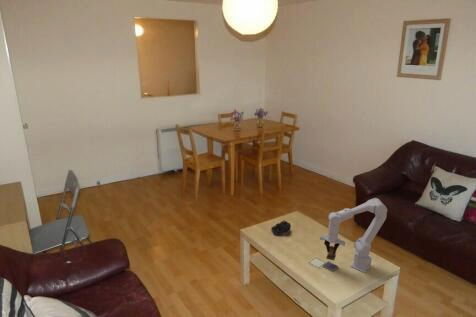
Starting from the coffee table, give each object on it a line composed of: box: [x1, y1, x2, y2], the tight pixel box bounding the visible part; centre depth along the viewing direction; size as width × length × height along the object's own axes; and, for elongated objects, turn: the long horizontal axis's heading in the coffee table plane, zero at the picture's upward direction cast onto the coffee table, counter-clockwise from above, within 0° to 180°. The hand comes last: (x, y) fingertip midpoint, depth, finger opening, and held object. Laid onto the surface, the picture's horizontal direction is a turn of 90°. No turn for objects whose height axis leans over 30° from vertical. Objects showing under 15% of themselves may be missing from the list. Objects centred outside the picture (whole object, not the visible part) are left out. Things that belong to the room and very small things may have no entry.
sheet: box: [306, 256, 328, 270], centre depth 210 cm, size 9×9×1 cm
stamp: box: [325, 245, 337, 261], centre depth 203 cm, size 4×4×7 cm
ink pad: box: [322, 260, 339, 273], centre depth 205 cm, size 7×6×1 cm
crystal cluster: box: [270, 220, 292, 237], centre depth 244 cm, size 13×14×10 cm
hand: (331, 252), depth 203 cm, fingers closed on stamp, 3 cm apart
